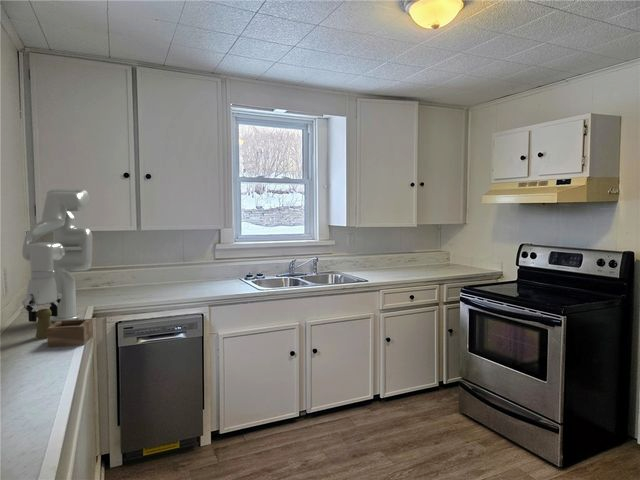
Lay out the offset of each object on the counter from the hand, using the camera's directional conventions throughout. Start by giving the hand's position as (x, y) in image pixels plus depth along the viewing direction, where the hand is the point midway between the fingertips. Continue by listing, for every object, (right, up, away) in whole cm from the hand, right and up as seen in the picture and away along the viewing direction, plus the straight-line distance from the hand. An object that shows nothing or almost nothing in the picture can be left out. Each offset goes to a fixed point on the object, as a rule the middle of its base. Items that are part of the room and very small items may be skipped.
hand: (43, 318), depth 170 cm
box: (+13, -8, -5) cm, 16 cm away
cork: (0, -8, +1) cm, 8 cm away
